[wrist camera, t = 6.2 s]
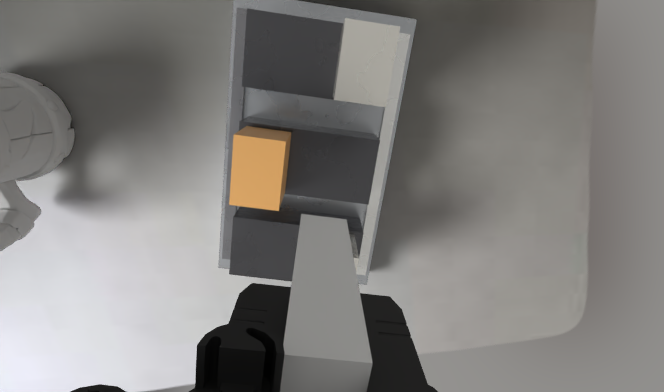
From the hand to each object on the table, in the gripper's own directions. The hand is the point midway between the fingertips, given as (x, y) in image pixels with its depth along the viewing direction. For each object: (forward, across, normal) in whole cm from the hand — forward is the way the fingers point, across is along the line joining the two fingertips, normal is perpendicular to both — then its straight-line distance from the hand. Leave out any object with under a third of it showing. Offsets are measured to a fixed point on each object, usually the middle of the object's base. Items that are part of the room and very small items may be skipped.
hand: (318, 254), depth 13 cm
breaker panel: (+18, -1, 0) cm, 18 cm away
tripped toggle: (+13, -3, 0) cm, 13 cm away
